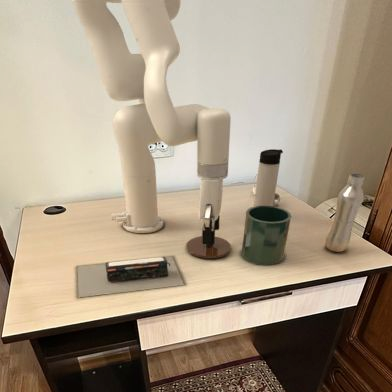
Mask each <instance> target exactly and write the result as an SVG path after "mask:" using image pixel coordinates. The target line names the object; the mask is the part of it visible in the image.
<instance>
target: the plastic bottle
mask: <svg viewBox="0 0 392 392" xmlns="http://www.w3.org/2000/svg"><path fill="white" fill-rule="evenodd" d="M364 180H365V175H363V174H362V173H350V174H349V177H348V180H347V181H346V183H347V185H345V186H344V188H342V190H340V192H339V193H338V195H337V200H336V207H335V213H334V217H333V222H332V224H331V227H330V229H329V232H328V233H327V236H326V239H325V246H326V248H327V250H330V251H331V252H336V253H341V252H345V251H346V250H347V249H348V247H349V245H350V243H351V237H352V236H351V235H352V230H353V226H354V223H355V220H356V217H357V214H358V213H359V211H360V208H361V207H362V204H363V201H364V191H363V188H362V186H363V184H364Z"/></svg>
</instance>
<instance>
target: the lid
mask: <svg viewBox="0 0 392 392" xmlns="http://www.w3.org/2000/svg"><path fill="white" fill-rule="evenodd" d="M185 247H186V251H187V252H188V253H189V254H190V255H193V256H195V257H198V258H201V259H202V258H203V259H216V258H217V259H218V258H222V257H224V256H226V255H228V254H229V253H230V252H231V251H232V245H231V243H230V242H229V241H228V240H226V239H224V238H222V237H219V236H215V243H214V245H208V244H203V243H202V235H201V236H196V237H193V238H191V239H189V240H188V241H187V242H186V244H185Z"/></svg>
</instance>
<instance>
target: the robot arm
mask: <svg viewBox="0 0 392 392" xmlns="http://www.w3.org/2000/svg"><path fill="white" fill-rule="evenodd" d="M71 2H72V6H73V9H74V11H75V13H76V16H77V18H78V20H79V23H80V24H81V26H82V28H83V31H84V33H85V35H86V38H87V40H88V42H89V46H90V48H91V52H92V54H93V57H94V60H95V63H96V66H97V69H98V72H99V74H100V75H99V76H100V77H101V80H102V83H103V85H104V88H105V91H106V93H107V95H108V97H109V98H110V99H112V100H113V101H114V102H115V101H116V102H130V101H135V100H137V101H138V102H139V103H138V104H132V105H127V106H124V107H122V108H121V109H119V110H118V111H117V112H116V113H115V115H114V117H113V120H112V130H113V133H114V137H115V141H116V144H117V148H118V153H119V159H120V166H121V174H122V182H123V183H122V184H123V191H124V192H123V193H124V201H125V208H124V211H122V212H119V213H118V212H113V213H112V212H111V218H112V221H116V222H117V223H122V227H123V228H124V230H126V231H128V232H130V233H133V234H134V233H135V234H149V233H153V232H154V233H155V232H157V231H159V230H160V229H162V228H163V226H164V220H163V219H162V217H160V216H159V212H158V211H159V210H158V209H159V208H158V192H157V171H156V163H155V159H154V157H153V154H152V153H151V151H150V148H149V146H150V145H154V144H157V143H161V142H162V143H164V145H166V146H168V147H177V146H180V145H184V144H187V143H192V142H197V145H196V146H197V147H196V148H197V149H196V151H197V153H196V154H197V156H196V159H197V161H196V164H197V166H196V167H197V169H196V171H197V172H196V173H197V174H196V176H197V177H198V178H199V179H200V183H199V197H198V199H199V201H198V202H199V203H198V219H199V221H201V220H203V222H202V223H203V224H202V235H201V236H202V243H203V244H208V245H214V243H215V237H216V231H219V230H220V213H221V209H222V201H223V190H224V189H223V187H224V186H223V185H224V179H226V178H228V177H229V161H230V160H229V156H230V138H231V137H230V136H231V113H230V111H228V110H227V109H224V108H219V107H217V108H215V107H211V108H210V107H207V106H204V105H201V104H197V103H192V104H186V105H185V104H184V105H179V106H174V103H173V101H172V99H171V95H170V92H169V90H168V89H169V88H168V85H167V73H168V70H169V67H170V66H171V65H172V64H173V63H174V62H175V61H176V60H177V58H178V57H179V55H180V52H181V45H180V44H179V40H178V38H177V35H176V32H175V29H174V27H173V24H172V21H173V20H174V19H175V18H176V17H177V16H178V14H179V12H180V8H181V0H71ZM107 3H112V4H121V5H122V8H123V10H124V13H125V15H126V18H127V20H128V23H129V25H130V28H131V31H132V34H133V36H134V39H135V41H136V44H137V46H138V48H139V51H140V53H132V52H130V50H129V47H128V45H127V42H126V38H125V35H124V31H123V29H122V27H121V25H120V23H119V21H118V19H117V18H116V17H115V15H114V14H113V13H112V11H111V10H110V9H109V7H108V6H107Z"/></svg>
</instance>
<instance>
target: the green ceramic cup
mask: <svg viewBox="0 0 392 392" xmlns="http://www.w3.org/2000/svg"><path fill="white" fill-rule="evenodd" d="M291 222H292V213H291V212H289V211H288V210H287V209H285V208H282V207H279V206H255V207H254V206H252V207H249V208H248V209H247V210H246V211H245V216H244V227H243V234H242V244H241V257H242V258H243V259H244V260H245V261H247V262H250V263H251V264H255V265H259V266H260V265H261V266H272V265H276V264H278V263H280V262H282V261H283V259H284V257H285V254H286V253H285V252H286V248H287V242H288V237H289V233H290V232H289V231H290V228H291V227H290V226H291Z"/></svg>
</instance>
